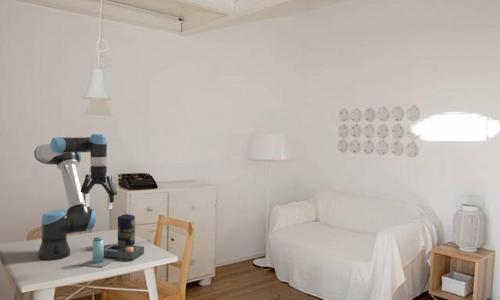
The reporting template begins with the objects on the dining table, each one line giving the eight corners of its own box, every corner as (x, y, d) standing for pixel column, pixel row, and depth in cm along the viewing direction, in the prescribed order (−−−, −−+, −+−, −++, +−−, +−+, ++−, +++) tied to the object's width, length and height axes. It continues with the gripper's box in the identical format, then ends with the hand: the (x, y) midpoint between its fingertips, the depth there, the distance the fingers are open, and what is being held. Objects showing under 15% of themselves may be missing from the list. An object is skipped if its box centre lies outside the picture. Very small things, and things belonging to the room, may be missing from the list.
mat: (80, 265, 196) (80, 264, 196) (94, 257, 208) (94, 257, 208) (102, 267, 194) (102, 266, 194) (115, 259, 206) (115, 259, 206)
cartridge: (99, 263, 198) (99, 239, 197) (90, 263, 199) (90, 238, 198) (105, 260, 203) (105, 237, 202) (96, 259, 204) (96, 236, 203)
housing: (100, 257, 208) (100, 250, 208) (113, 251, 220) (113, 243, 220) (132, 260, 205) (132, 253, 204) (143, 253, 216) (143, 246, 216)
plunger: (124, 256, 208) (124, 248, 208) (128, 254, 212) (128, 246, 212) (131, 257, 207) (131, 249, 207) (135, 254, 211) (135, 247, 211)
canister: (129, 248, 226) (129, 216, 225) (114, 246, 228) (114, 215, 227) (137, 243, 235) (138, 213, 235) (123, 242, 237) (123, 212, 236)
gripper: (124, 166, 199) (124, 208, 200) (83, 163, 207) (83, 204, 208) (115, 167, 192) (115, 211, 193) (72, 164, 200) (72, 207, 201)
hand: (98, 208), depth 201 cm, fingers open, 13 cm apart
